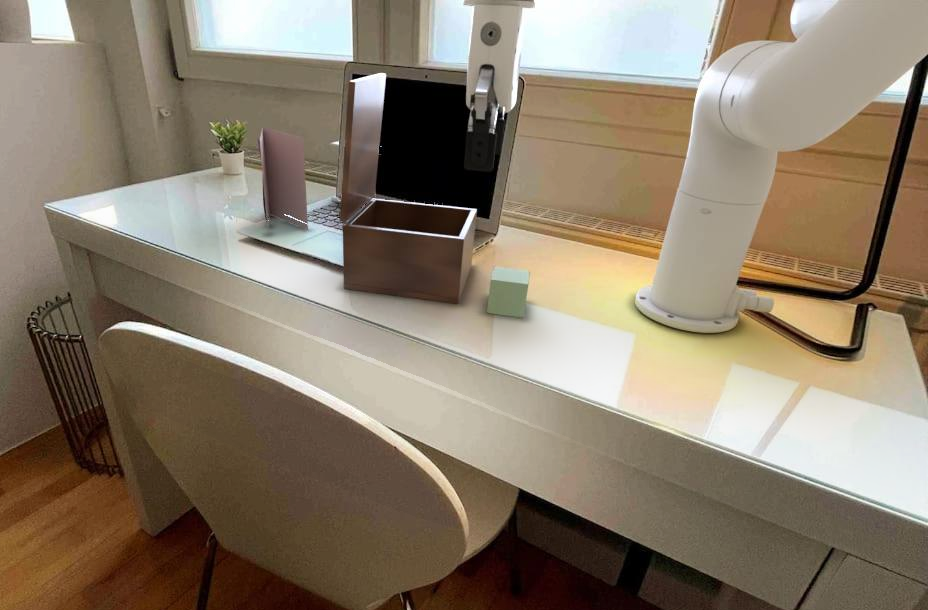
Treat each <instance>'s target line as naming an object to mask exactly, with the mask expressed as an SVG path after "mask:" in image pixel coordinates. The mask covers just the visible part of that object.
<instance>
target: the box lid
mask: <svg viewBox="0 0 928 610" xmlns="http://www.w3.org/2000/svg"><path fill="white" fill-rule="evenodd" d="M386 79H387V74H386V73H384V72H379V73H375V74H370V75H367V76H363V77H359V78H355V79H352V80H348V86H347V102H346V114H345V116H346V117H345V130H344V131H345V132H344V140H345V145H344V161H343V176H342V175H341V191H342V192H341V191H340V192H341V193H340V194H341V203H340V207H339V222H342V223H346V222H347V221H348V220H349V219H350V218H352V217H353V216H354V215H355V214H356V213H357V212H358V211H359V210H360V209H361V207H363V206H364V205H365V204H366V203H367V202H368V201H369V200H370V199H371V198H372V197H373V196H374V195H375V196H376V186H377V175H378V164H379V156H380V154H379V146H380V143H381V134H382V133H381V132H382V121H383V111H384V103H385V101H384V100H385V93H386V91H385V90H386Z"/></svg>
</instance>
